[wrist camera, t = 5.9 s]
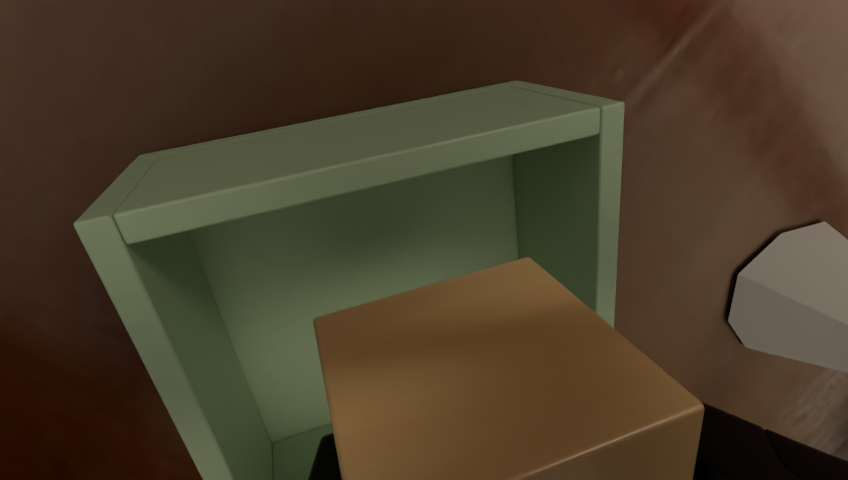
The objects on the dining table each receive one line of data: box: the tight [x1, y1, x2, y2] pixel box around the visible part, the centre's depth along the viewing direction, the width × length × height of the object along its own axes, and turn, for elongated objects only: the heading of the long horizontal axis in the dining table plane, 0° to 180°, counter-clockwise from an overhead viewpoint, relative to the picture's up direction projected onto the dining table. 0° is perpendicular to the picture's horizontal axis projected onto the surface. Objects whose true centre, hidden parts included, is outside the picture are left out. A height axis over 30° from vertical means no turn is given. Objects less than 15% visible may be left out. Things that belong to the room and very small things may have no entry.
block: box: [313, 257, 705, 480], centre depth 8 cm, size 4×4×4 cm
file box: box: [74, 80, 625, 480], centre depth 16 cm, size 12×12×6 cm
